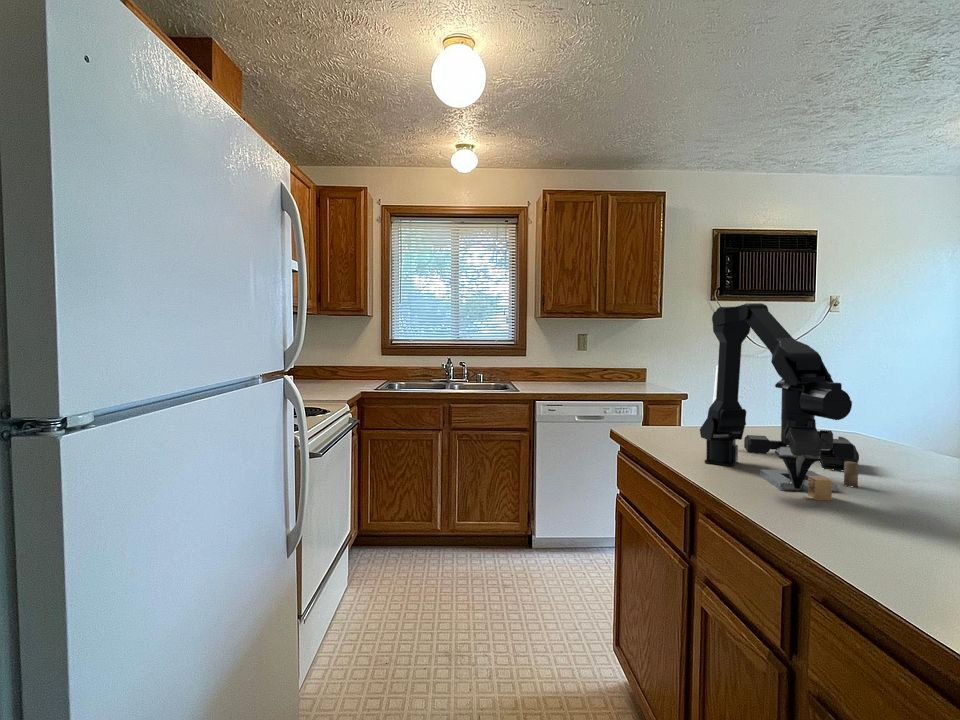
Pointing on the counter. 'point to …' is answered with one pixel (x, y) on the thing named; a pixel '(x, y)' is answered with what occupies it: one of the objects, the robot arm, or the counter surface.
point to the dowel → (851, 473)
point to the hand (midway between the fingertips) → (796, 488)
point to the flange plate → (811, 485)
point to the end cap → (835, 460)
